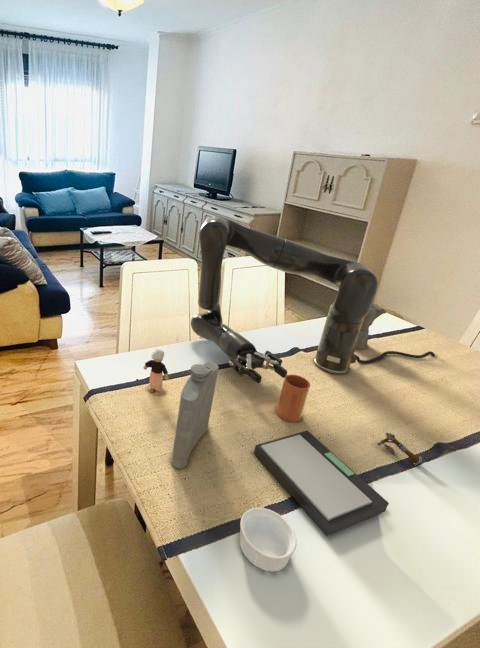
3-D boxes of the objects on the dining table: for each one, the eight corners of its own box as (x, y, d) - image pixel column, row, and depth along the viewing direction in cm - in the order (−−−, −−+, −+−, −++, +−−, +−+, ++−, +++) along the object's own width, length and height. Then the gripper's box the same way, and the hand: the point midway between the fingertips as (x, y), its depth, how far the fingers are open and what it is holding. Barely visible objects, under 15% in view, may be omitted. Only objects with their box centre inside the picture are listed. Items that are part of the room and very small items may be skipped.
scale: (304, 438, 91) (307, 428, 90) (385, 511, 74) (390, 500, 72) (253, 453, 85) (256, 442, 84) (326, 536, 68) (331, 524, 67)
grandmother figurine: (170, 390, 105) (175, 350, 100) (165, 398, 102) (170, 357, 97) (143, 381, 108) (147, 342, 103) (138, 389, 104) (142, 349, 100)
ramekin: (261, 585, 60) (266, 567, 59) (225, 534, 68) (229, 516, 66) (302, 563, 64) (308, 546, 62) (264, 517, 71) (269, 500, 69)
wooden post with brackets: (374, 438, 91) (389, 428, 88) (406, 466, 87) (423, 457, 85) (372, 442, 89) (387, 432, 87) (405, 471, 86) (422, 461, 83)
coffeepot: (376, 346, 135) (393, 299, 128) (368, 355, 128) (385, 306, 122) (330, 329, 145) (343, 285, 138) (321, 337, 138) (334, 291, 132)
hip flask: (182, 471, 80) (195, 392, 72) (165, 462, 82) (175, 384, 74) (209, 426, 92) (222, 355, 85) (193, 419, 94) (204, 349, 87)
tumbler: (288, 404, 102) (297, 372, 98) (305, 419, 97) (315, 386, 93) (271, 408, 100) (279, 376, 96) (287, 423, 95) (297, 390, 91)
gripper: (218, 339, 112) (254, 370, 98) (257, 333, 117) (297, 361, 103) (214, 361, 115) (248, 394, 101) (252, 354, 120) (290, 384, 106)
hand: (273, 377), depth 102 cm, fingers open, 8 cm apart
